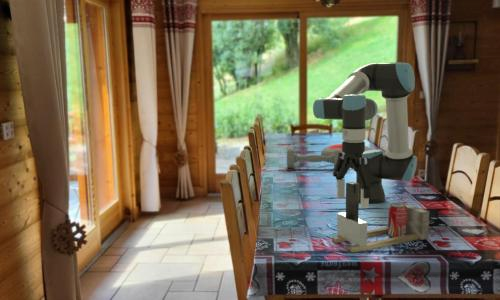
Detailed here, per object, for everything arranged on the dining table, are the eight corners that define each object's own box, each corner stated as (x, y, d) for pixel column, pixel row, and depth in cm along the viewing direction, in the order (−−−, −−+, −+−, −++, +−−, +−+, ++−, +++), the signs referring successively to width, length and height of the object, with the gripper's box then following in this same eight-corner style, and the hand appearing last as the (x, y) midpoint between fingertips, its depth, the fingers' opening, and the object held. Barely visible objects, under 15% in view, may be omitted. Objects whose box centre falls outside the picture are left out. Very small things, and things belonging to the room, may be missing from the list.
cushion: (371, 165, 298) (372, 149, 296) (315, 162, 311) (315, 147, 310) (377, 155, 332) (377, 141, 330) (326, 153, 345) (326, 139, 344)
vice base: (330, 240, 165) (330, 213, 164) (400, 227, 178) (401, 202, 176) (353, 253, 153) (354, 224, 151) (428, 238, 165) (429, 211, 163)
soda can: (396, 240, 164) (397, 207, 162) (384, 234, 170) (385, 203, 168) (409, 237, 167) (411, 205, 165) (397, 232, 172) (398, 201, 170)
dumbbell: (288, 168, 298) (288, 148, 299) (340, 169, 293) (340, 148, 294) (286, 168, 286) (286, 147, 286) (341, 169, 280) (341, 148, 281)
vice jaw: (335, 234, 165) (336, 180, 162) (345, 233, 167) (346, 179, 164) (357, 247, 153) (358, 188, 150) (368, 244, 155) (369, 187, 152)
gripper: (323, 137, 164) (323, 195, 168) (367, 146, 142) (365, 213, 145) (341, 135, 167) (340, 192, 171) (387, 145, 145) (385, 210, 148)
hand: (352, 202), depth 158 cm, fingers open, 13 cm apart
